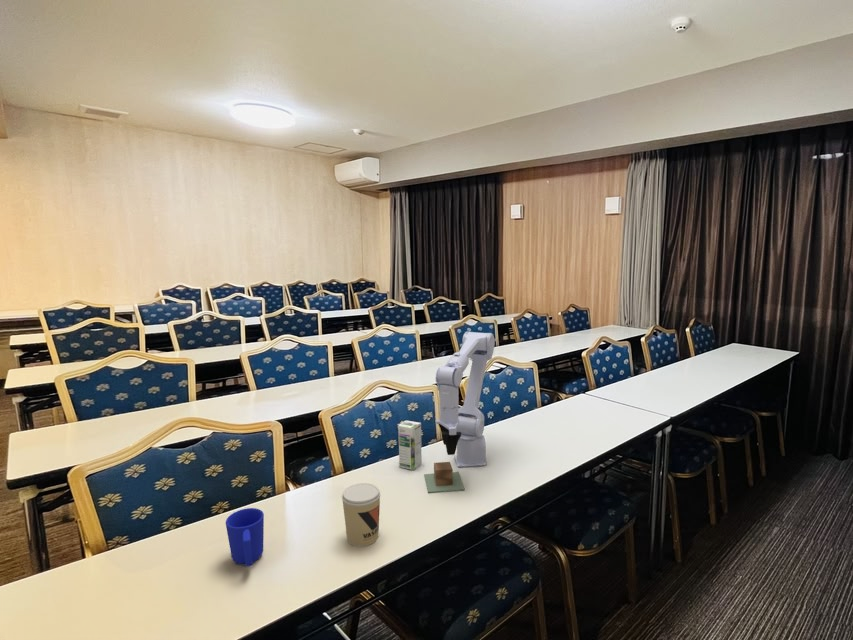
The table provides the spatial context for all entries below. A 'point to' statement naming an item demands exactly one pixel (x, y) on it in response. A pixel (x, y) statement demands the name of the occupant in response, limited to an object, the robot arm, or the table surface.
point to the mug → (246, 535)
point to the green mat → (446, 488)
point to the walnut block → (443, 473)
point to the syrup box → (409, 445)
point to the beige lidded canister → (361, 513)
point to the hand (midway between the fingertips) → (449, 449)
